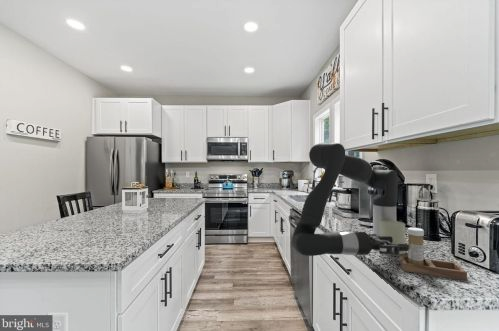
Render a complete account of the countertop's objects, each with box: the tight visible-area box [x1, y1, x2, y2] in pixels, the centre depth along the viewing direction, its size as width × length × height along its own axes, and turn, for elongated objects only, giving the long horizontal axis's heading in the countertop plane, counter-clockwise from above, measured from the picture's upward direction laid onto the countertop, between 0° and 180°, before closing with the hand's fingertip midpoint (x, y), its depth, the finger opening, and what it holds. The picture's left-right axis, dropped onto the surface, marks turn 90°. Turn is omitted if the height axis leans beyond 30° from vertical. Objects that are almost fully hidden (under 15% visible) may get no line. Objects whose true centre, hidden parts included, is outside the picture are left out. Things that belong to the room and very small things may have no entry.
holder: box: [398, 254, 468, 281], centre depth 82 cm, size 8×16×2 cm, turn 66°
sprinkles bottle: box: [407, 227, 425, 265], centre depth 83 cm, size 5×5×14 cm
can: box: [380, 220, 406, 255], centre depth 102 cm, size 9×9×12 cm
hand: (399, 243), depth 83 cm, fingers open, 8 cm apart
